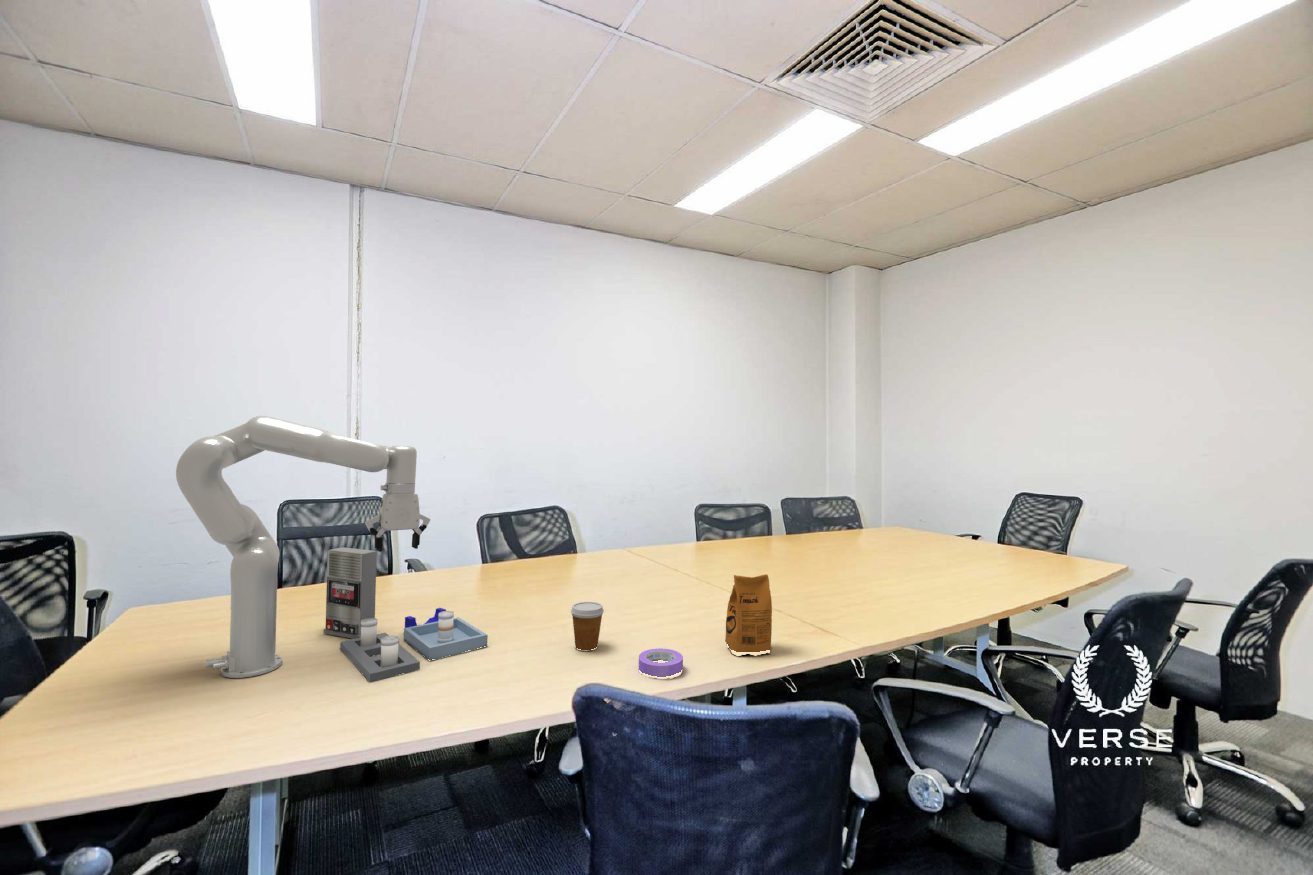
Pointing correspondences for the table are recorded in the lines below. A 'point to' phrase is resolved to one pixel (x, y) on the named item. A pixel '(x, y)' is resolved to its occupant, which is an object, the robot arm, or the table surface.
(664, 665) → the masking tape
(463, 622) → the tray
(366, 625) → the cylinder
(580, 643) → the disposable coffee cup
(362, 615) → the cassette tape recorder
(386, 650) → the cylinder
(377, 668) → the fuse holder
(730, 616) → the coffee package
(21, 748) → the table surface
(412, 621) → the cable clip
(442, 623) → the marked fuse
